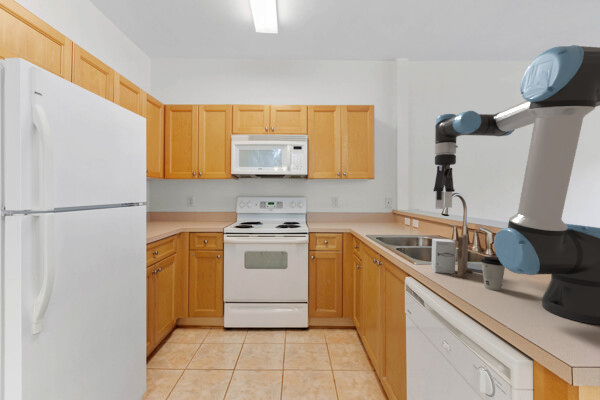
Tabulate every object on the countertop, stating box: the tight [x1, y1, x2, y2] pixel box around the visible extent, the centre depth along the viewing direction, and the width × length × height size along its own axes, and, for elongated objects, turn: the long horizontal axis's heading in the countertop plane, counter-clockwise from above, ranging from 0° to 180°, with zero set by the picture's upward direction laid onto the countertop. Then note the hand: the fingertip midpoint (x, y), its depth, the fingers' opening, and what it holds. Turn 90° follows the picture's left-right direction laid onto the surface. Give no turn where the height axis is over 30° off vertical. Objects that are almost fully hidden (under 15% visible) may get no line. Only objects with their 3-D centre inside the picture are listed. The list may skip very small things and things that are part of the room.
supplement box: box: [430, 238, 457, 275], centre depth 116 cm, size 7×7×13 cm
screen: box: [451, 233, 474, 280], centre depth 112 cm, size 12×5×15 cm, turn 141°
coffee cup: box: [480, 256, 506, 292], centre depth 96 cm, size 7×7×10 cm
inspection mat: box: [467, 262, 483, 274], centre depth 119 cm, size 10×10×1 cm
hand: (444, 208), depth 116 cm, fingers open, 13 cm apart
